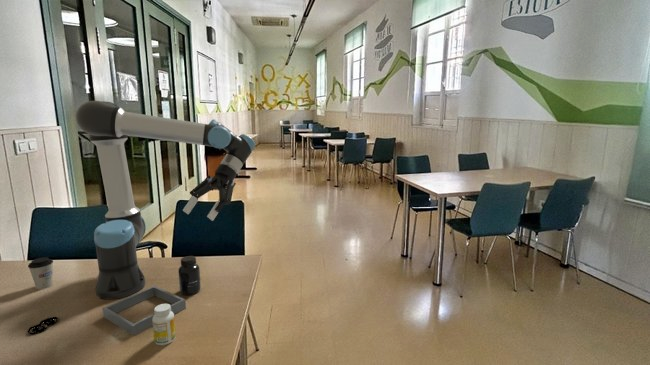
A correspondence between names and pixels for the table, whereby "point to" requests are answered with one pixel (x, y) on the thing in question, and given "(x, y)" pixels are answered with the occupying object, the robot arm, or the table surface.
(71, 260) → the table surface
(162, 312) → the supplement bottle
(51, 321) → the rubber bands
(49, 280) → the coffee cup
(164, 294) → the square frame
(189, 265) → the supplement bottle
